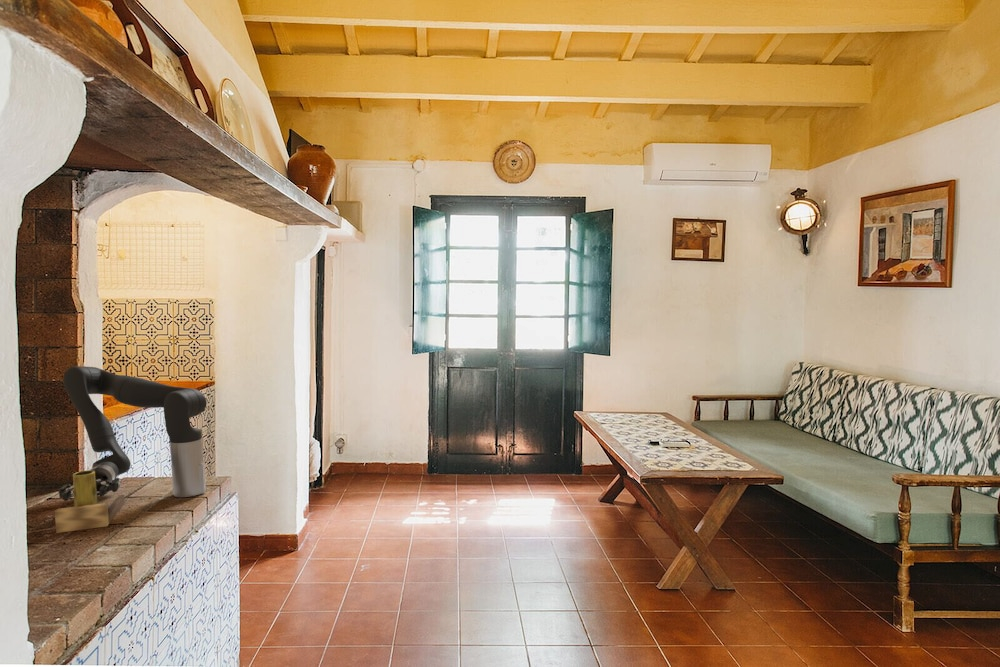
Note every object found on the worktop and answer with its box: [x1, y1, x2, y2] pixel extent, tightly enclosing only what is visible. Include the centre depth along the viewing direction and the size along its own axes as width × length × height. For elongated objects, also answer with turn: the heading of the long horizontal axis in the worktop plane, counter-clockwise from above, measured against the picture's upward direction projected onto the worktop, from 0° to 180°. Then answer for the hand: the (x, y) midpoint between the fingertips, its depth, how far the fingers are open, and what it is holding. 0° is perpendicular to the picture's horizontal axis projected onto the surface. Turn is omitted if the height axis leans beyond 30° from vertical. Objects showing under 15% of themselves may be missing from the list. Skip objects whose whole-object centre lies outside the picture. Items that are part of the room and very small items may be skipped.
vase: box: [72, 469, 99, 507], centre depth 181 cm, size 6×6×14 cm
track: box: [54, 494, 126, 534], centre depth 186 cm, size 12×22×6 cm, turn 19°
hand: (83, 495), depth 179 cm, fingers open, 8 cm apart
